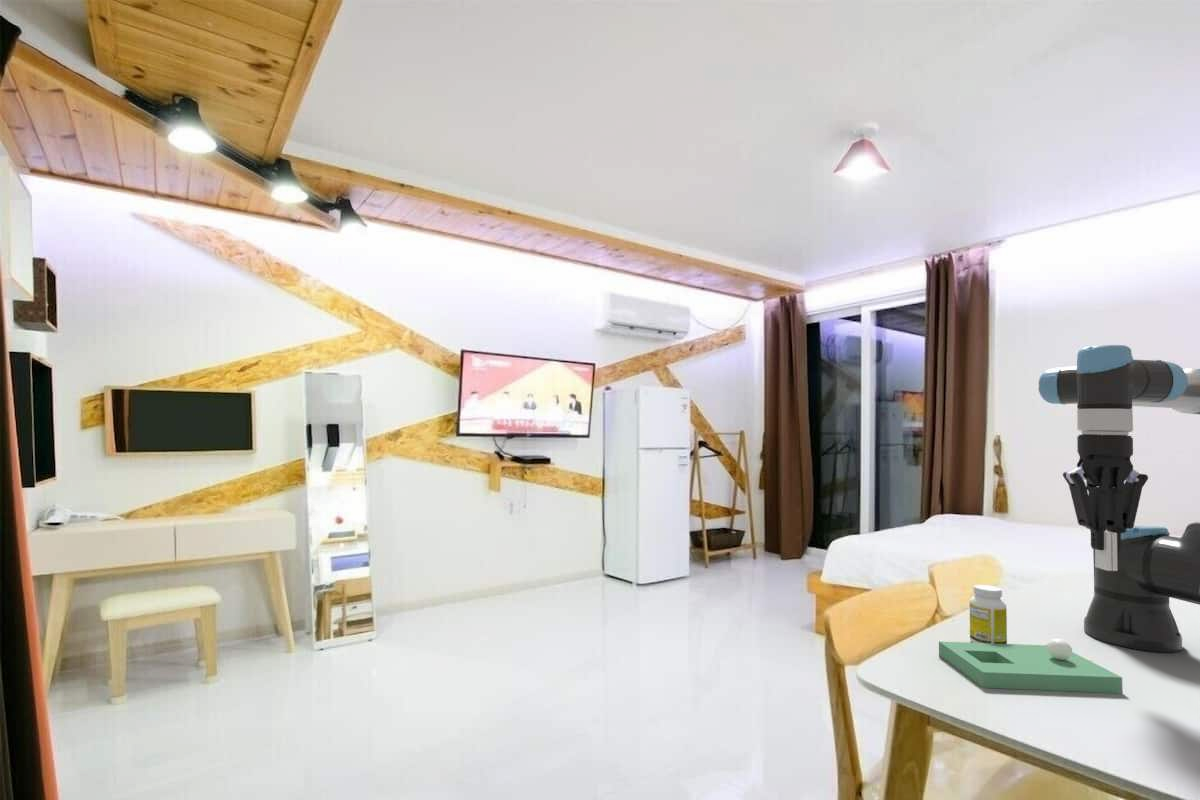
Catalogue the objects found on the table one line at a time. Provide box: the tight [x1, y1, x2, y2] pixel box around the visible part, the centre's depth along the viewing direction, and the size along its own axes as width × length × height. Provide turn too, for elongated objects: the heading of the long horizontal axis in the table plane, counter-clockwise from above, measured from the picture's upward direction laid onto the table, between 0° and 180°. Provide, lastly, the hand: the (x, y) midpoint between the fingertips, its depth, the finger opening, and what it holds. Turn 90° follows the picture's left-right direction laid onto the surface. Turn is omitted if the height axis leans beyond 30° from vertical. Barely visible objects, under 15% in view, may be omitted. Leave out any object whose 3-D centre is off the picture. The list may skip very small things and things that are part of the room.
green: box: [938, 641, 1123, 694], centre depth 105 cm, size 22×14×2 cm, turn 87°
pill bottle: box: [969, 584, 1008, 644], centre depth 119 cm, size 6×6×11 cm
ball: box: [1047, 638, 1073, 660], centre depth 105 cm, size 4×4×4 cm
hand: (1106, 568), depth 105 cm, fingers closed
